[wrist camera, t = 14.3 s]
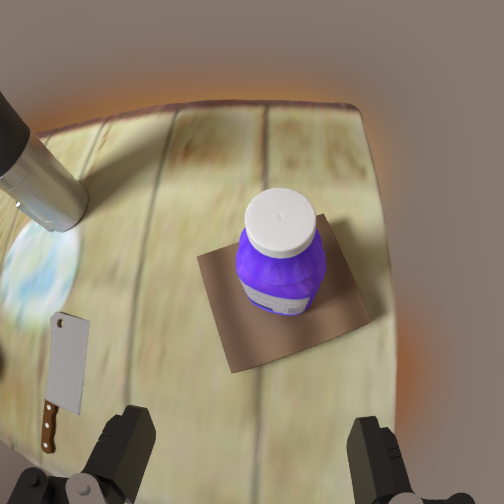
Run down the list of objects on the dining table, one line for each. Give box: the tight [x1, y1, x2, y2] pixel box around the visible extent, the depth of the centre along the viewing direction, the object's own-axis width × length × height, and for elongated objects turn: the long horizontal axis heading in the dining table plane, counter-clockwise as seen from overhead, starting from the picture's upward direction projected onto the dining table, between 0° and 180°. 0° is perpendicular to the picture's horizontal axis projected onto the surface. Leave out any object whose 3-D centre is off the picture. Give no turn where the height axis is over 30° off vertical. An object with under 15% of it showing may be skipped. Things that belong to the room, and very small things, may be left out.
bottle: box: [236, 188, 326, 316], centre depth 25 cm, size 7×6×17 cm
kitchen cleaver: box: [41, 312, 90, 454], centre depth 34 cm, size 24×1×10 cm
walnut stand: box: [197, 214, 371, 373], centre depth 35 cm, size 16×14×4 cm
